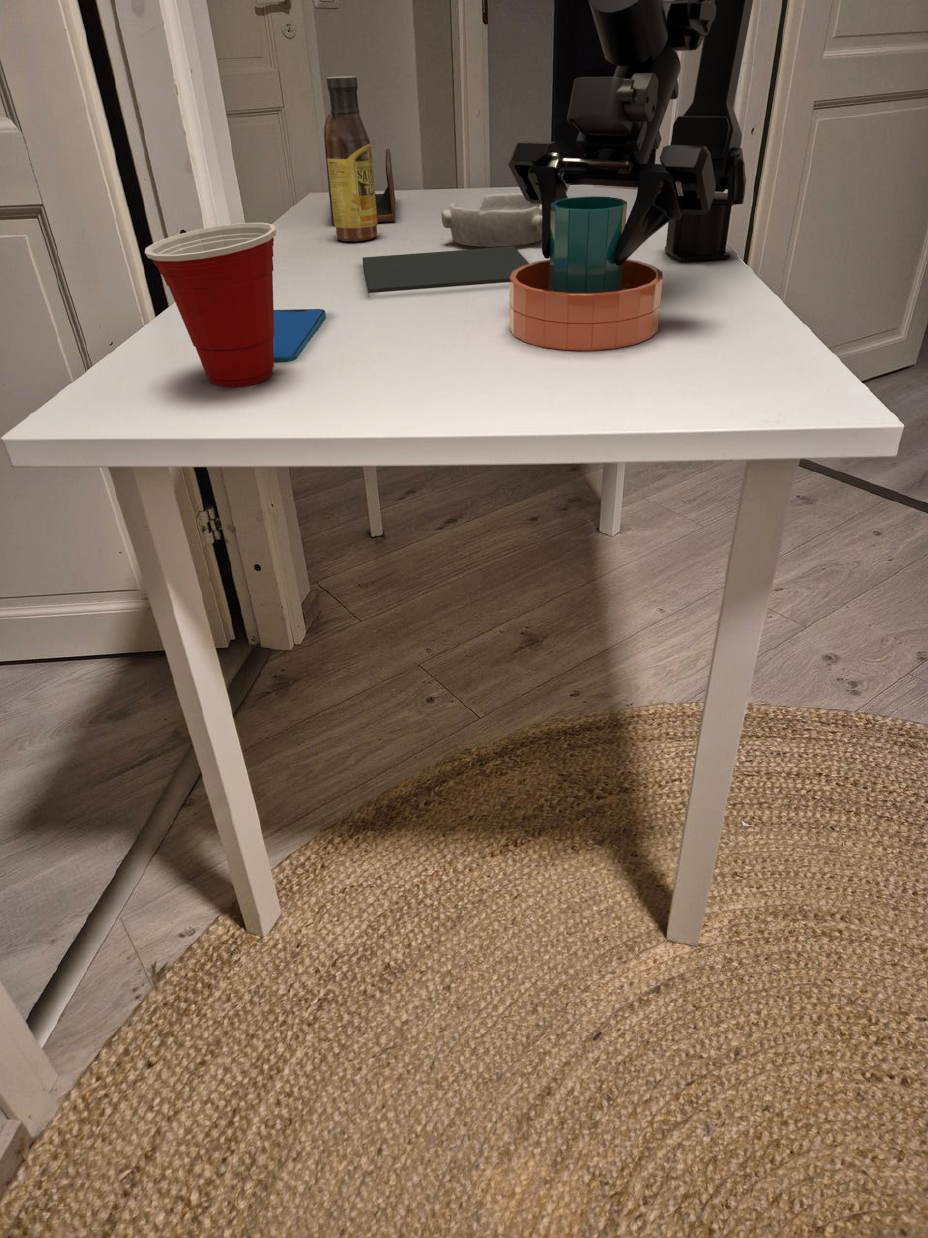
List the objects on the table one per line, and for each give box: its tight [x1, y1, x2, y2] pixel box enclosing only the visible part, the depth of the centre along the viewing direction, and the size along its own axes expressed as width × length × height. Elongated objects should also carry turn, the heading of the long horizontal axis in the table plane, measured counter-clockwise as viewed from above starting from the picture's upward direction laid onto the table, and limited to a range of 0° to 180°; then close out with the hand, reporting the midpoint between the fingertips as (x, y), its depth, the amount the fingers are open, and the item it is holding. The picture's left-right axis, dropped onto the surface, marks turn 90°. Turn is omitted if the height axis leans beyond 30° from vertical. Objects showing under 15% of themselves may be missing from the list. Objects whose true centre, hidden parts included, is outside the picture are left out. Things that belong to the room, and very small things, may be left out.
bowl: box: [508, 258, 664, 352], centre depth 79 cm, size 14×14×6 cm
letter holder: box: [323, 113, 396, 227], centre depth 133 cm, size 10×20×14 cm, turn 4°
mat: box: [361, 245, 530, 298], centre depth 101 cm, size 20×16×1 cm
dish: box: [441, 192, 542, 248], centre depth 115 cm, size 14×14×5 cm
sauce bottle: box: [326, 75, 378, 242], centre depth 115 cm, size 6×6×20 cm
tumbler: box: [549, 195, 628, 293], centre depth 77 cm, size 7×7×11 cm
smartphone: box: [273, 308, 327, 363], centre depth 84 cm, size 7×1×15 cm
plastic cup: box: [144, 222, 277, 388], centre depth 71 cm, size 11×11×12 cm
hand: (580, 259), depth 76 cm, fingers open, 7 cm apart
